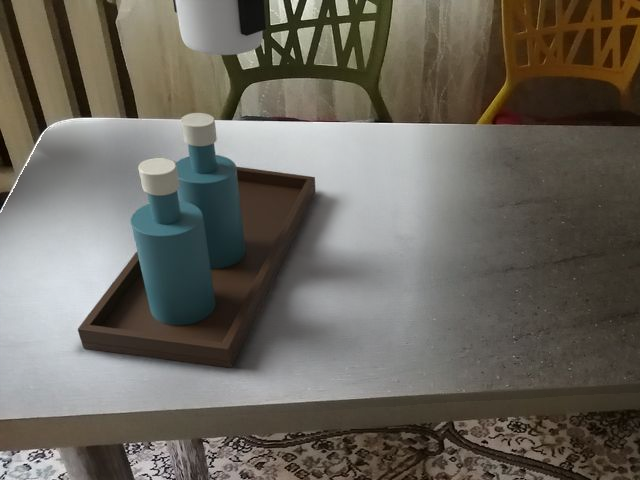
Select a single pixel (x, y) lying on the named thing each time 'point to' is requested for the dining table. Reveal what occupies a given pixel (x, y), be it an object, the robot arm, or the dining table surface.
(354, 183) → the dining table surface
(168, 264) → the bottle
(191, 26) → the pill bottle
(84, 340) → the tray
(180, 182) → the bottle
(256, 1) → the robot arm
